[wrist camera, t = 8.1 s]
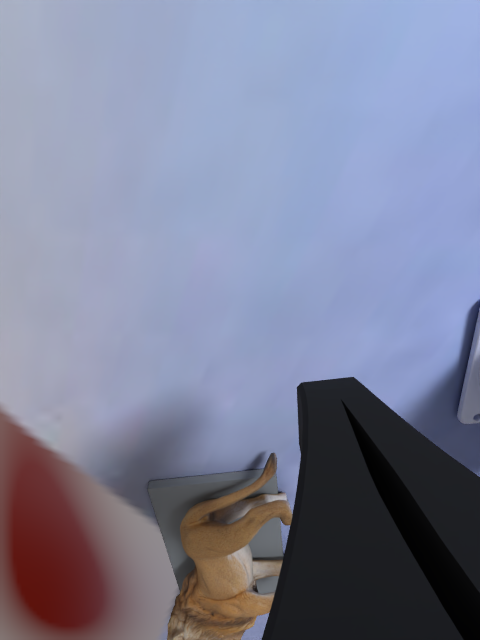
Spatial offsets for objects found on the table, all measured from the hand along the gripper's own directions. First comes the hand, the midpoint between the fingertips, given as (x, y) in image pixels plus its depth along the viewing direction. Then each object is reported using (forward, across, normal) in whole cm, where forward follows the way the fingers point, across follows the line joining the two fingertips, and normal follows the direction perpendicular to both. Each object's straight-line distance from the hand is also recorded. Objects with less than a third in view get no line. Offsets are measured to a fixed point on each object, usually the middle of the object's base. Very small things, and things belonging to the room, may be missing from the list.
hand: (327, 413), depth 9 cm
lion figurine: (+6, 0, +18) cm, 19 cm away
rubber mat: (+9, +5, +19) cm, 22 cm away
